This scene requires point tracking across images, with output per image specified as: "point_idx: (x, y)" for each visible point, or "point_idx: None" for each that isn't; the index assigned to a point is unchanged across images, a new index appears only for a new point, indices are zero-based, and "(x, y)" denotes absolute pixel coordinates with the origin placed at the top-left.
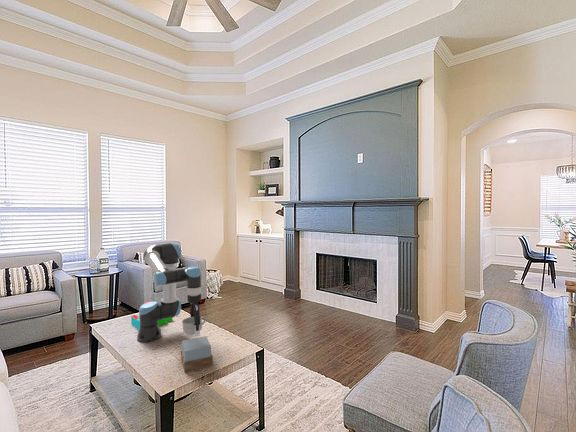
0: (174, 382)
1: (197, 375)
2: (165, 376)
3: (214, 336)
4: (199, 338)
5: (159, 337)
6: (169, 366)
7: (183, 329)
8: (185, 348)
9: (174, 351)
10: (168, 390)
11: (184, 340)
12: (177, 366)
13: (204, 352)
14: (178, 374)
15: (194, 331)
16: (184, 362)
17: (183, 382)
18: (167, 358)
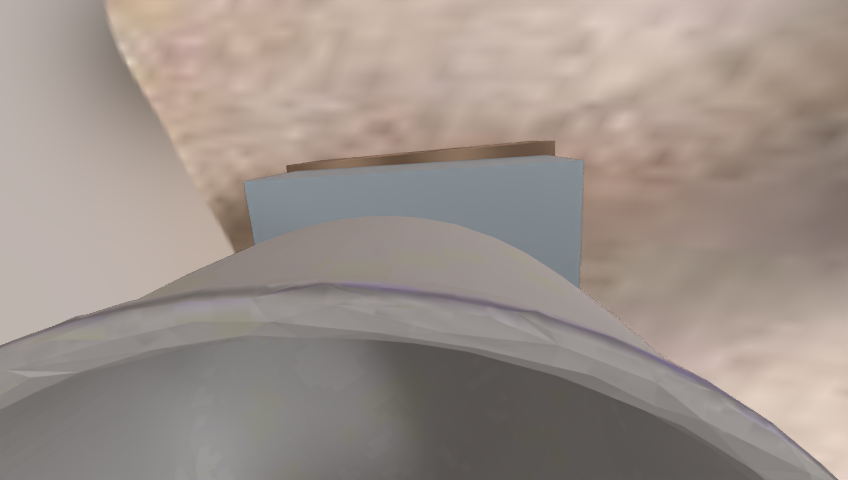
0: (209, 77)
1: (253, 241)
2: (315, 6)
3: (824, 442)
4: None
5: None
6: (467, 40)
7: (295, 230)
8: (322, 193)
9: (738, 90)
10: (117, 31)
11: (580, 197)
12: (438, 108)
13: None
14: (311, 111)
15: (169, 463)
16: (302, 164)
17: (192, 142)
18: (627, 21)
